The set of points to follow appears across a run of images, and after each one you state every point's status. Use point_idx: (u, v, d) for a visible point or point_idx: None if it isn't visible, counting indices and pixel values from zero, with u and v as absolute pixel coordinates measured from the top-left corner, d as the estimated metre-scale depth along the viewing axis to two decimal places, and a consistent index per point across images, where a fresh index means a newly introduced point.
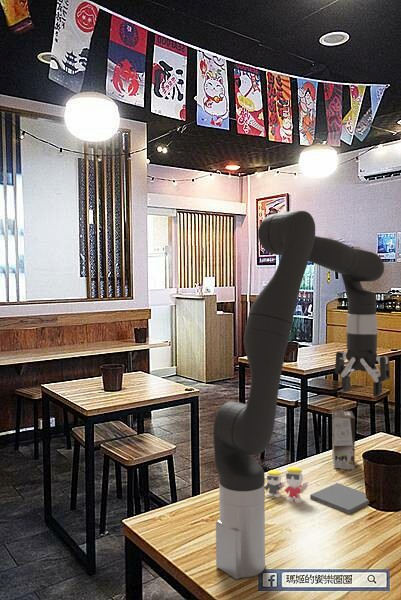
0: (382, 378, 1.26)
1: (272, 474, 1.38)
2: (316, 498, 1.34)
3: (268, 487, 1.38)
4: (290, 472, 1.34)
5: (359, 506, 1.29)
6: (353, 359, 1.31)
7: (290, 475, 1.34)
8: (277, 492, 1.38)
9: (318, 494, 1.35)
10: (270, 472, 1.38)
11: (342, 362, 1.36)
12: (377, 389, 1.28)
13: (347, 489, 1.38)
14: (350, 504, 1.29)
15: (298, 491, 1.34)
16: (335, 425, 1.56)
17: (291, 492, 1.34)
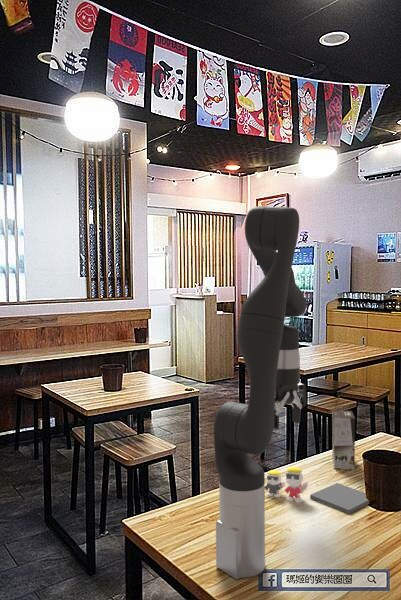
0: (305, 403, 1.39)
1: (272, 474, 1.38)
2: (316, 498, 1.34)
3: (268, 487, 1.38)
4: (290, 472, 1.34)
5: (359, 506, 1.29)
6: (288, 393, 1.33)
7: (290, 475, 1.34)
8: (277, 492, 1.38)
9: (318, 494, 1.35)
10: (270, 472, 1.38)
11: None
12: (299, 415, 1.38)
13: (347, 489, 1.38)
14: (350, 504, 1.29)
15: (298, 491, 1.34)
16: (335, 425, 1.56)
17: (291, 492, 1.34)
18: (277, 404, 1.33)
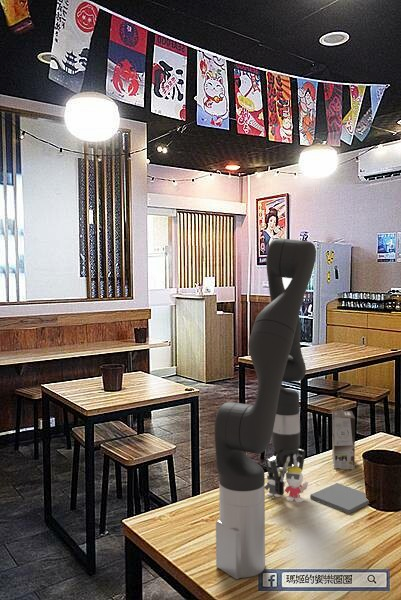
0: None
1: None
2: (316, 498, 1.34)
3: (268, 487, 1.38)
4: (290, 472, 1.34)
5: (359, 506, 1.29)
6: (288, 458, 1.34)
7: (290, 475, 1.34)
8: None
9: (318, 494, 1.35)
10: None
11: None
12: None
13: (347, 489, 1.38)
14: (350, 504, 1.29)
15: (298, 491, 1.34)
16: (335, 425, 1.56)
17: (291, 492, 1.34)
18: (280, 471, 1.34)
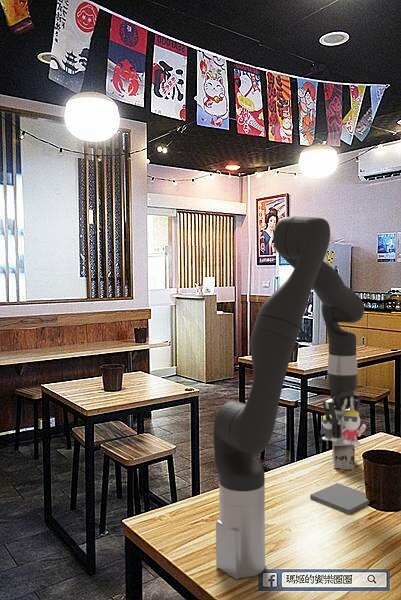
0: None
1: None
2: (316, 498, 1.34)
3: (324, 431, 1.35)
4: (347, 414, 1.32)
5: (359, 506, 1.29)
6: (346, 400, 1.31)
7: (348, 417, 1.31)
8: None
9: (318, 494, 1.35)
10: (325, 416, 1.36)
11: None
12: None
13: (347, 489, 1.38)
14: (350, 504, 1.29)
15: (356, 434, 1.31)
16: None
17: (348, 435, 1.32)
18: (337, 413, 1.31)
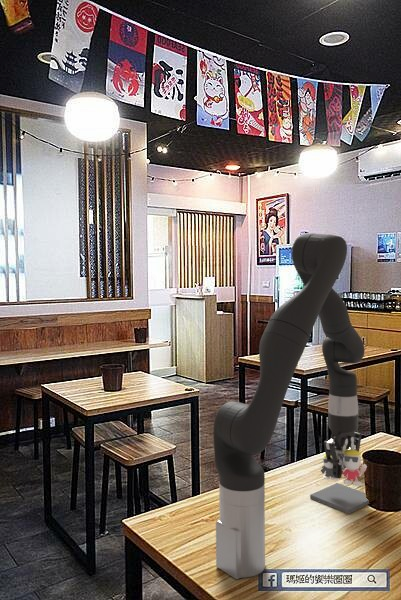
0: None
1: None
2: (316, 498, 1.34)
3: (324, 470, 1.35)
4: (348, 455, 1.32)
5: (359, 506, 1.29)
6: (346, 440, 1.32)
7: (348, 458, 1.31)
8: None
9: (318, 494, 1.35)
10: None
11: None
12: None
13: (347, 489, 1.38)
14: (350, 504, 1.29)
15: (356, 474, 1.31)
16: None
17: (349, 475, 1.32)
18: (338, 453, 1.32)
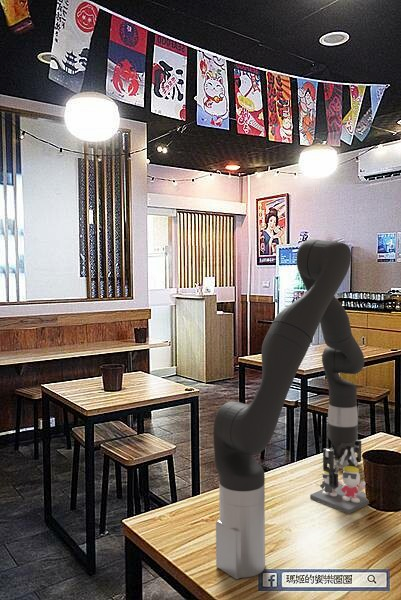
0: (360, 460, 1.37)
1: (327, 473, 1.35)
2: (316, 498, 1.34)
3: (324, 486, 1.36)
4: (347, 471, 1.32)
5: (359, 506, 1.29)
6: (346, 451, 1.32)
7: (347, 474, 1.31)
8: (333, 491, 1.35)
9: (318, 494, 1.35)
10: None
11: None
12: None
13: None
14: (350, 504, 1.29)
15: (355, 491, 1.31)
16: None
17: (348, 491, 1.32)
18: (336, 462, 1.31)
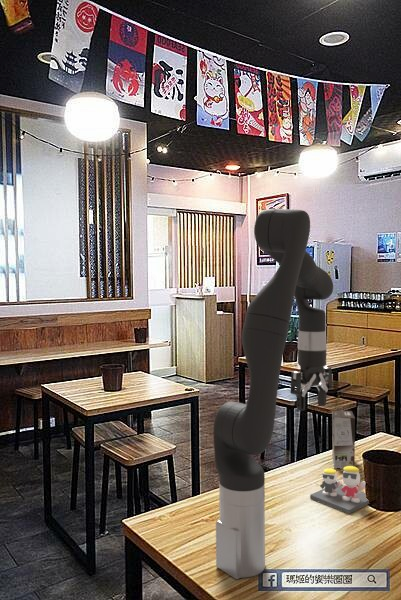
0: (331, 386, 1.39)
1: (328, 473, 1.35)
2: (316, 498, 1.34)
3: (324, 486, 1.36)
4: (347, 471, 1.32)
5: (359, 506, 1.29)
6: (314, 375, 1.34)
7: (347, 474, 1.31)
8: (333, 491, 1.35)
9: (318, 494, 1.35)
10: (326, 470, 1.36)
11: None
12: None
13: None
14: (350, 504, 1.29)
15: (355, 491, 1.31)
16: (335, 425, 1.56)
17: (348, 491, 1.32)
18: (303, 386, 1.34)
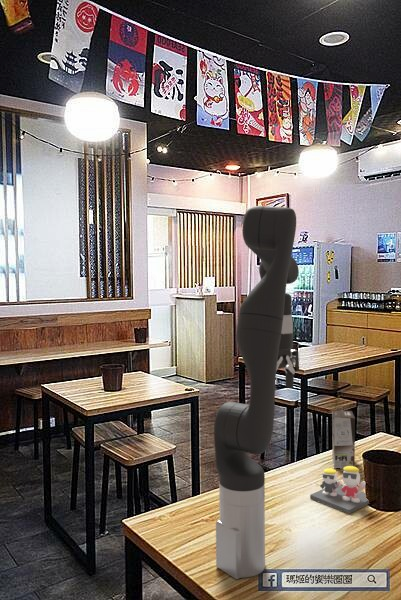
0: (298, 369, 1.43)
1: (328, 473, 1.35)
2: (316, 498, 1.34)
3: (324, 486, 1.36)
4: (347, 471, 1.32)
5: (359, 506, 1.29)
6: (281, 358, 1.37)
7: (347, 474, 1.31)
8: (333, 491, 1.35)
9: (318, 494, 1.35)
10: (326, 470, 1.36)
11: None
12: (292, 380, 1.42)
13: None
14: (350, 504, 1.29)
15: (355, 491, 1.31)
16: (335, 425, 1.56)
17: (348, 491, 1.32)
18: None
